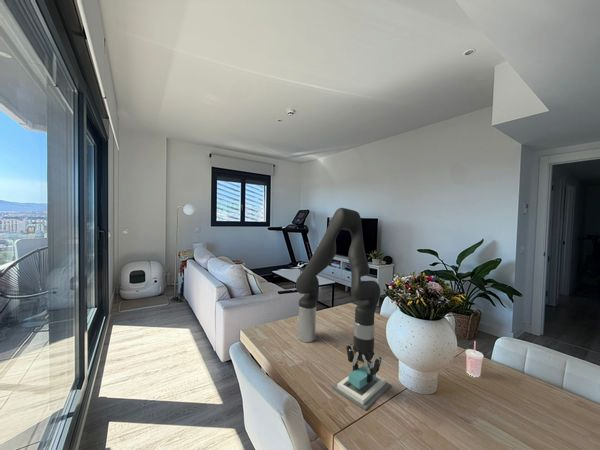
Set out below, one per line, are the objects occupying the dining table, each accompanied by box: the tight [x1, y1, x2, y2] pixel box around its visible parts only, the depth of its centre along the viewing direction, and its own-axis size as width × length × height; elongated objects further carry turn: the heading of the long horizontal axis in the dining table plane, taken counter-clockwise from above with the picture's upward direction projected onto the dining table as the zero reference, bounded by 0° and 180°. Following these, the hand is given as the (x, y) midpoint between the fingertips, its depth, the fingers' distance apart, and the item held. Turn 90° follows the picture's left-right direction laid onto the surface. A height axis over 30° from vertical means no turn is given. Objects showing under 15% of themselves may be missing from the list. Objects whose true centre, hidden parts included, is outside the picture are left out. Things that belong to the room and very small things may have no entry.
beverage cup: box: [465, 340, 484, 378], centre depth 103 cm, size 6×6×14 cm
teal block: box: [348, 364, 377, 389], centre depth 93 cm, size 10×5×3 cm, turn 128°
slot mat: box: [331, 374, 392, 411], centre depth 93 cm, size 14×18×2 cm
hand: (362, 377), depth 93 cm, fingers closed on teal block, 5 cm apart
